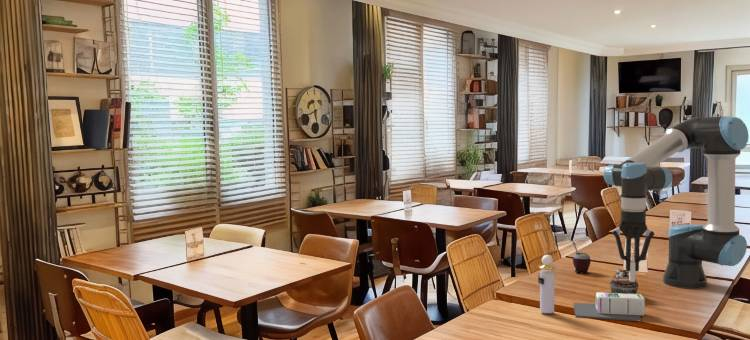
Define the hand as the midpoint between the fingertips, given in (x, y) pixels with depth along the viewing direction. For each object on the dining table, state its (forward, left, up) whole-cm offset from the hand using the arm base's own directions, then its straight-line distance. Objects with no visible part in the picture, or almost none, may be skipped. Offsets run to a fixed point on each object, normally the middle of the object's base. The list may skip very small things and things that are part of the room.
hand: (632, 280), depth 196 cm
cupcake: (0, -19, -12) cm, 22 cm away
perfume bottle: (+27, +5, -12) cm, 30 cm away
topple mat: (+8, 0, -11) cm, 14 cm away
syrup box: (-4, 0, -8) cm, 9 cm away
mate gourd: (+13, -52, -12) cm, 55 cm away
